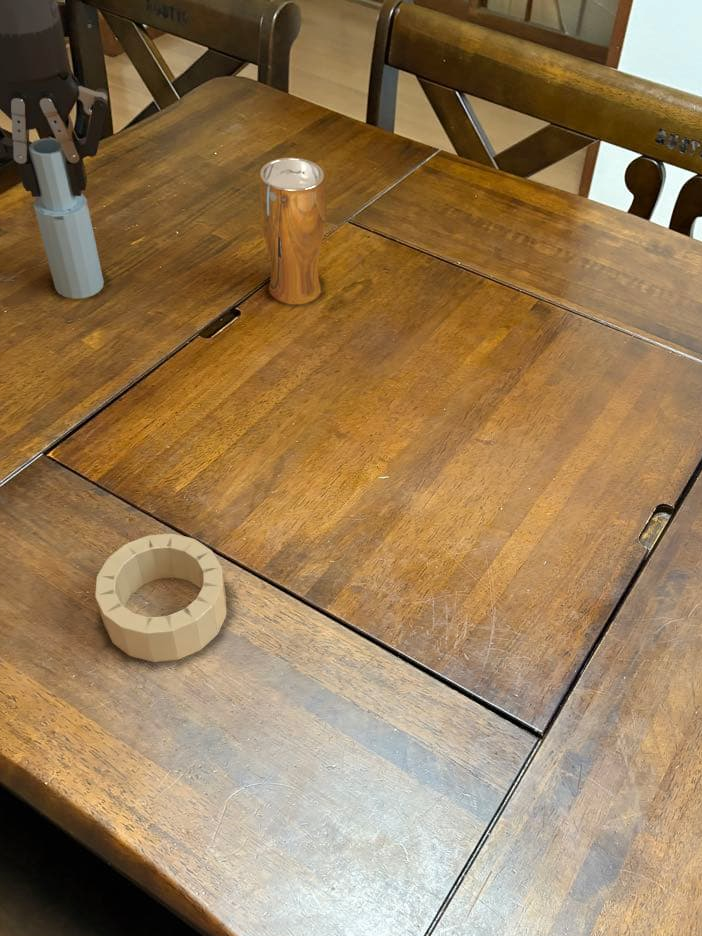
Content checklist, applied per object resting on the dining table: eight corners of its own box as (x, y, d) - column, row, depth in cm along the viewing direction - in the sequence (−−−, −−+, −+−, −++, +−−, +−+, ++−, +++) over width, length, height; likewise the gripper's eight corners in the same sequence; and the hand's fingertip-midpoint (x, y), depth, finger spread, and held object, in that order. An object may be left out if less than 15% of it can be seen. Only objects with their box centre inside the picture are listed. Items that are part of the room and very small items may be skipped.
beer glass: (317, 318, 104) (317, 195, 92) (257, 308, 104) (249, 185, 92) (331, 283, 108) (332, 162, 96) (273, 273, 108) (268, 151, 97)
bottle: (55, 306, 102) (16, 160, 88) (59, 278, 105) (22, 133, 92) (103, 304, 102) (72, 159, 89) (106, 277, 106) (76, 133, 93)
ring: (103, 672, 73) (91, 638, 69) (109, 575, 79) (99, 538, 75) (228, 661, 74) (223, 626, 70) (225, 566, 80) (220, 529, 76)
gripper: (99, -3, 84) (129, 173, 98) (-63, -6, 82) (-10, 174, 96) (95, 31, 80) (126, 211, 93) (-78, 29, 78) (-20, 213, 91)
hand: (57, 191), depth 94 cm, fingers closed on bottle, 3 cm apart
